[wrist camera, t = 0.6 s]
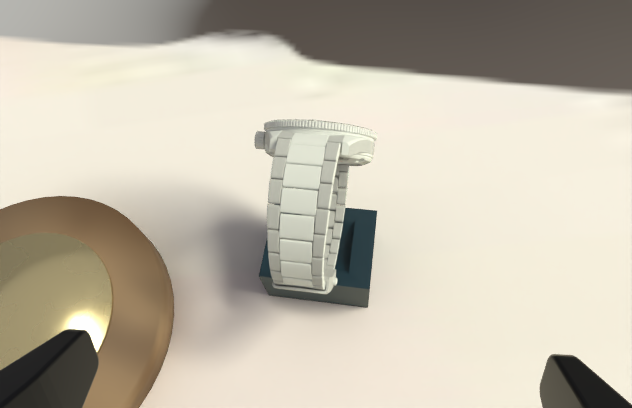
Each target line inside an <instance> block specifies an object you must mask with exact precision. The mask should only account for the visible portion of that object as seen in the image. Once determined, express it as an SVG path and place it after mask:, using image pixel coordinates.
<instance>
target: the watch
mask: <svg viewBox="0 0 632 408" xmlns="http://www.w3.org/2000/svg"><path fill="white" fill-rule="evenodd" d="M264 130H265V131H266V132H261V131H257V132H256V135H255V147H256V149H265V151H266V153H267V154H269V155H270V156H272V157H274V158H273V164H272V171H271V179H270V183H269V195H268V203H272V204H268V205H267V228H268V230H267V241H266V246H265V250H264V255H263V260H262V264H261V269H260V274H259V277H260V279H261V281H262V283H263V285H264V287H265V289H266V290H267V292H268V294H269V295H272V296H280V297H288V298H296V299H304V300H312V301H320V302H328V303H336V304H344V305H352V306H360V307H368V300H369V290H370V279H371V269H372V258H373V248H374V237H375V227H376V217H377V211H373V210H363V209H353V208H345V206H343V205H345V203H346V196H347V184H348V176H349V166H362V165H365V164H367V163H370V162H371V160H372V158H373V154H374V141H375V140H376V139H377V133H376V132H374V131H372V130H370V129H366V128H363V127H359V126H354V125H348V124H342V123H336V122H327V121H317V120H274V121H269V122H266V123H265V124H264ZM283 187H285V188H283ZM342 187H344V188H342ZM293 188H296V189H293ZM318 191H319V192H318ZM332 192H333V193H332ZM337 193H338V194H337ZM273 204H274V205H273ZM337 204H340V205H337Z"/></svg>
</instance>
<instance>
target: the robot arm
mask: <svg viewBox="0 0 632 408" xmlns="http://www.w3.org/2000/svg"><path fill="white" fill-rule="evenodd" d="M98 365H99V358H98V355H97V352H96V349H95V346H94V343H93V341H92V338H91V335H90V333H89V332H88V331H87V330H84V329H66V330H64V331H62V332H60V333H59V334H57V335H56V336H54V337H52V338H51V339H49V340H48V341H46V342H45V343H43V344H41V345H40V346H38V347H37V348H35V349H33V350H32V351H30V352H29V353H27V354H25V355H24V356H22V357H21V358H19V359H17V360H16V361H14V362H13V363H11V364H9V365H8V366H6V367H5V368H3V369H1V370H0V408H83V405H84V403H85V400H86V398H87V395H88V393H89V390H90V388H91V385H92V383H93V380H94V378H95V375H96V373H97V370H98ZM540 397H541V402H542V406H543V408H632V405H631V404H630V403H629V402H628V401H627V400H626V399H624V398H623V397H622V396H621V395H620V394H619V393H618V392H616V391H615V390H614V389H613V388H612V387H611V386H609V385H608V384H607V383H606V382H605V381H604V380H603V379H601V378H600V377H599V376H598V375H597V374H596V373H594V372H593V371H592V370H591V369H590V368H589V367H588V366H586V365H585V364H584V363H583V362H582V361H581V360H579V359H578V358H577V357H575V356H573V355H560V354H553V355H550V356H549V358H548V360H547V363H546V366H545V370H544V373H543V376H542V380H541V383H540Z"/></svg>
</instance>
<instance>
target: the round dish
mask: <svg viewBox="0 0 632 408" xmlns="http://www.w3.org/2000/svg"><path fill="white" fill-rule="evenodd" d="M173 318H174V297H173V291H172V285H171V280H170V277H169V274H168V270H167V267H166V265H165V263H164V261H163V259H162V257H161V255H160V254H159V252H158V251H157V249H156V248H155V247H154V245H153V244H152V243H151V241H150V240H149V239H148V238H147V237H146V236H145V235H144V234H143V233H142V232H141V231H140V230H139V229H138V228H137V227H136V226H135V225H134V224H133V223H132V222H131V221H130V220H129V219H128V218H127V217H125V216H124V215H123V214H121V213H120V212H118V211H117V210H115V209H113V208H111V207H109V206H107V205H105V204H103V203H99V202H96V201H93V200H90V199H85V198H79V197H67V196H56V197H43V198H38V199H32V200H27V201H24V202H20V203H17V204H14V205H10V206H8V207H5V208H3V209H0V370H1V369H3V368H5V367H6V366H8V365H9V364H11V363H13V362H14V361H16V360H17V359H19V358H21V357H22V356H24V355H25V354H27V353H29V352H30V351H32V350H33V349H35V348H37V347H38V346H40V345H41V344H43V343H45V342H46V341H48V340H49V339H51V338H52V337H54V336H56V335H57V334H59V333H60V332H62V331H64V330H66V329H84V330H87V331H88V332H89V333H90V335H91V338H92V341H93V343H94V346H95V349H96V352H97V355H98V358H99V365H98V370H97V373H96V375H95V378H94V380H93V383H92V385H91V388H90V390H89V393H88V395H87V398H86V400H85V403H84V405H83V408H139V407H140V405H141V404H142V402H143V401H144V399H145V398H146V396H147V394H148V393H149V391H150V390H151V388H152V386H153V384H154V382H155V380H156V378H157V376H158V374H159V372H160V370H161V367H162V365H163V362H164V359H165V356H166V354H167V351H168V347H169V343H170V338H171V334H172V327H173Z"/></svg>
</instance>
